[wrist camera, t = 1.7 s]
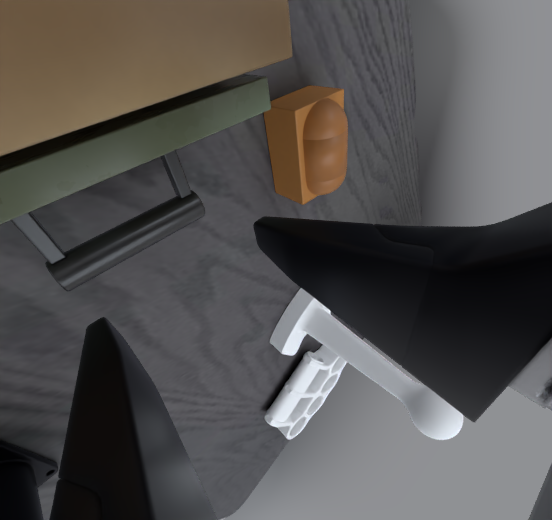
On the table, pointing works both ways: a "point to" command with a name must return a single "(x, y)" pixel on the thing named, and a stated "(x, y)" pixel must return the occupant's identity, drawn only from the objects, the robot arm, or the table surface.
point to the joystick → (364, 364)
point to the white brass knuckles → (305, 391)
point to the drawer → (117, 159)
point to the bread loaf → (307, 142)
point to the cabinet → (122, 57)
